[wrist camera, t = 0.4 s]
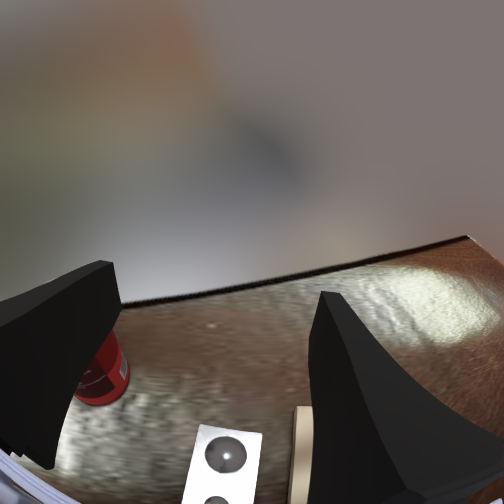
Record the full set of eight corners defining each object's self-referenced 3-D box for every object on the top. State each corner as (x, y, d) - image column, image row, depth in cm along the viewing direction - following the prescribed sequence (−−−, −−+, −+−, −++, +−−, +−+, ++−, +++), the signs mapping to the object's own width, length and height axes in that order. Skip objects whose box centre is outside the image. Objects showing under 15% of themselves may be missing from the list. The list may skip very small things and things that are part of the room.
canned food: (105, 336, 29) (74, 263, 23) (146, 379, 26) (116, 308, 19) (58, 370, 24) (11, 303, 17) (94, 421, 20) (38, 363, 14)
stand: (418, 499, 14) (426, 497, 13) (285, 515, 15) (289, 515, 14) (409, 409, 23) (416, 403, 22) (294, 411, 24) (297, 406, 23)
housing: (244, 527, 14) (249, 533, 10) (190, 518, 14) (176, 521, 10) (255, 450, 21) (263, 430, 17) (205, 443, 21) (198, 420, 17)
